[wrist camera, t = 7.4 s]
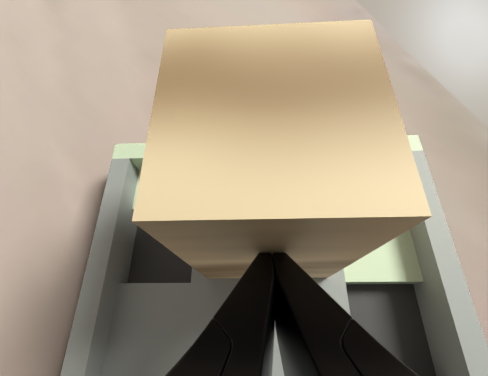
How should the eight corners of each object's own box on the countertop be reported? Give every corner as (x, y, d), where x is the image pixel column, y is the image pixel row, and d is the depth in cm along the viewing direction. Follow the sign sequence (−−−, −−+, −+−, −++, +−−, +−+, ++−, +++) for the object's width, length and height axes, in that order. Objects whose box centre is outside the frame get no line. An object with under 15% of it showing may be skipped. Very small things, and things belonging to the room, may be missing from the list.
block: (328, 277, 14) (431, 216, 5) (206, 278, 14) (131, 221, 6) (314, 170, 16) (371, 19, 8) (212, 173, 16) (166, 29, 8)
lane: (517, 595, 10) (599, 683, 7) (53, 575, 11) (-6, 649, 8) (396, 159, 17) (417, 135, 15) (133, 166, 18) (115, 143, 16)
